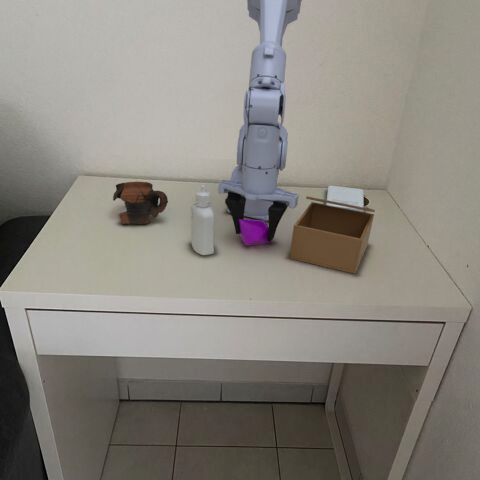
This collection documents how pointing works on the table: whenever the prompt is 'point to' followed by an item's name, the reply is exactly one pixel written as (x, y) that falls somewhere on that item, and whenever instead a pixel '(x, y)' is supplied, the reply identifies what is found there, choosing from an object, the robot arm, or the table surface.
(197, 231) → the eye dropper bottle
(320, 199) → the carton flap
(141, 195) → the pottery mug
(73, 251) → the table surface
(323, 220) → the carton
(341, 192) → the hard drive
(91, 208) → the table surface
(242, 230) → the crystal
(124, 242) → the table surface
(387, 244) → the table surface
